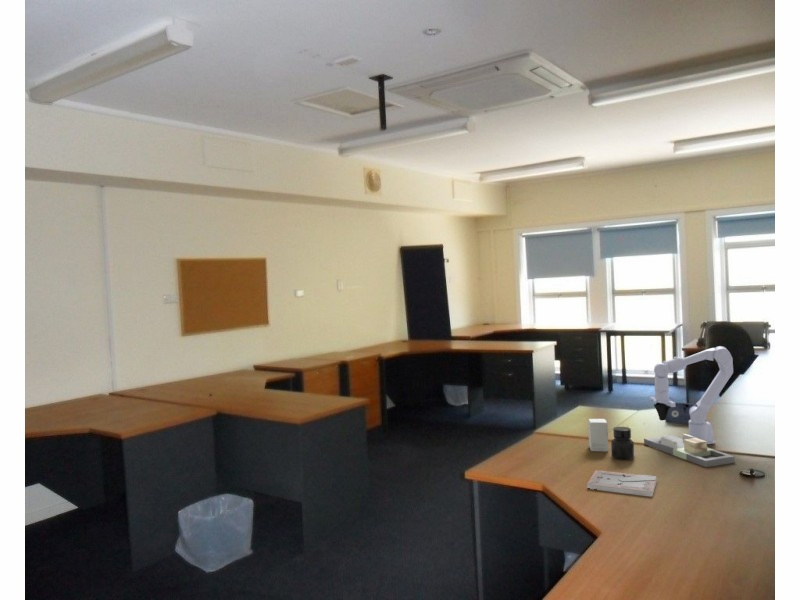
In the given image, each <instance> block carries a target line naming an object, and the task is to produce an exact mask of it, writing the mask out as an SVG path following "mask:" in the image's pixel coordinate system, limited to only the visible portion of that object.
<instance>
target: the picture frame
mask: <svg viewBox="0 0 800 600" xmlns="http://www.w3.org/2000/svg"><path fill="white" fill-rule="evenodd" d="M657 483H658V477H657V475H648V474H635V473H624V472H617V471H606V470H597V469H595V470H594V472H593V474H592V475H591V476H590V478H589V480H588V482H587V483H586V487H587V488H590V489H589V490H594V489H597V490H596V491H603V492H609V493H619V494H628V495H633V496H635V495H636V496H643V497H653V495H654V492H655V489H656V486H657Z"/></svg>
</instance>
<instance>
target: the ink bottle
mask: <svg viewBox="0 0 800 600" xmlns="http://www.w3.org/2000/svg"><path fill="white" fill-rule="evenodd" d="M612 431H613V439H611V443H610V445H611V448H610V449H611V457H612V458H614V459H615V460H621V461H623V460H624V461H629V460H633V459H634V458H635V443H634V441H633V440H632V439H631V438H632V428H630V427H628V426H615V427H613V429H612Z"/></svg>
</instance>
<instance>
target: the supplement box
mask: <svg viewBox="0 0 800 600" xmlns="http://www.w3.org/2000/svg"><path fill="white" fill-rule="evenodd" d="M587 422H588V423H587V425H588V426H587V427H588V447H589V450H590V451H591V452H608V451H609V437H608V436H609V434H608V430H609V429H608V422H607V420H606V419H605V418H587Z"/></svg>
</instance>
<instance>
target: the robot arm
mask: <svg viewBox="0 0 800 600" xmlns="http://www.w3.org/2000/svg"><path fill="white" fill-rule="evenodd" d="M733 359H734V358H733V356H732V354H731V352H730V351H729V350H728V349H727V347H725V346H722V345H719V346H716V347H711V348H707V349H704V350H702V351H700V352H697V353H694V354H692V355H689V356H686V357H682V356H676V355H675V356H674V357H673V358H672V359H669V360H663V361H662V362H658V363H656V364H655V365H654V368H653V371H654V396H649V397H648V398H649V400H648V401H649V402H653V403H654V404H653V406H654V408H655V410H656V412H657V415H658V419H659V420H660V421H665V420H666V416H667V412H668V410H669V408H670V407H676V406H675V403H676V402H675V401H673V400H671V399H670V391H669V390H670V388H669V379H668V375H669V374H674V373H676V372H677V373H678V372H680V371H682V370H685V369H686V368H687V366H688V365H691V364H694V363H698V362H701V361H705V360H706V361H707V360H708V361H712V362H714V360H715V362H716V363H717V365H718V368H719V370H718V372H717V374H716V375H715V376H714V378H713V379H712V381H711V383H710V384H709V386H707V389H706V390H705V392H704V393H703V394H702V396H701V398H700V399H699V400H698V401H697V402H696V403H695V404H696V405H694V406H693V407H691V408H690V410H689V414H690V418H691V419H690V420H689V424H688V435H690V436H693V437H696V438H699V439H701V440H704V441H707V445H711V444H715V443H716V442H715V441H714V427H713V425H712V423H710V422H709V421H707V415H708V413H709V411H710V409H711V406H712V405H713V404H714V402H715V401H716V399H717V398H718V396H719V395H720V393H721V392H722V390H723V388H725V386H726V384H727V382H728V381H729V379H730V378H731V377H732V375H733V374H734V364H733V361H734V360H733ZM705 420H706V421H705Z"/></svg>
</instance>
